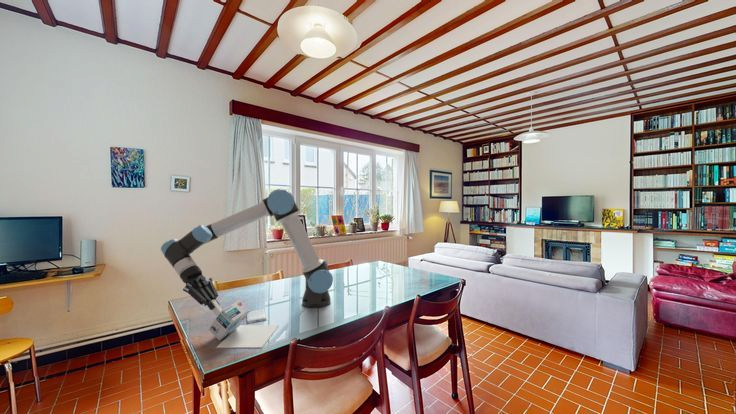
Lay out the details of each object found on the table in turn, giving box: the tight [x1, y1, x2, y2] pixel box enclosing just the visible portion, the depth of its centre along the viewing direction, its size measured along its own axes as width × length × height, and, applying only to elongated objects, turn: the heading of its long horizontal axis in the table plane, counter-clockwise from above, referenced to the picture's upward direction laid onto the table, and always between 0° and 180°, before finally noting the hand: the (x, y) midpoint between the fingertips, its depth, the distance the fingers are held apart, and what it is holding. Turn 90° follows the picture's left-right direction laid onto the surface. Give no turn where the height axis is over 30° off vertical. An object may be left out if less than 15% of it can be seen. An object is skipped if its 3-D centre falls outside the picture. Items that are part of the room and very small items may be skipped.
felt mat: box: [216, 324, 280, 349], centre depth 112 cm, size 17×19×1 cm
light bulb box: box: [208, 300, 251, 341], centre depth 113 cm, size 11×7×11 cm
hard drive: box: [246, 308, 267, 324], centre depth 132 cm, size 2×8×12 cm
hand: (220, 314), depth 114 cm, fingers closed
